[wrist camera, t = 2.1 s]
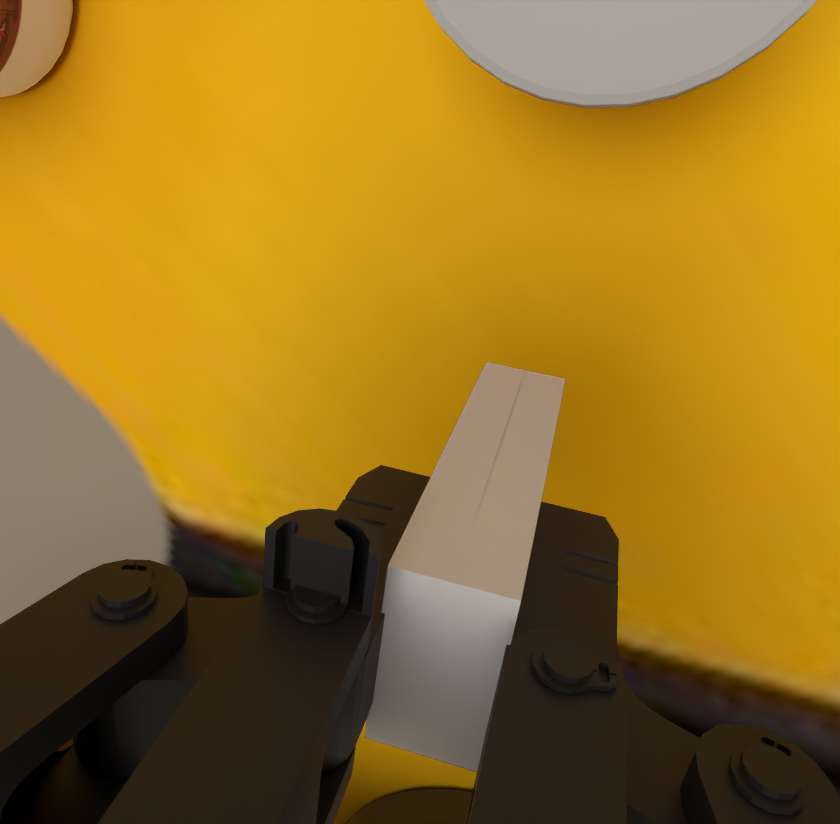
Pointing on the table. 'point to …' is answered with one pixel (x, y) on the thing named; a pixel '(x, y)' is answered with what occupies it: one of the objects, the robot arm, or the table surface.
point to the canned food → (613, 43)
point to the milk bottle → (31, 40)
